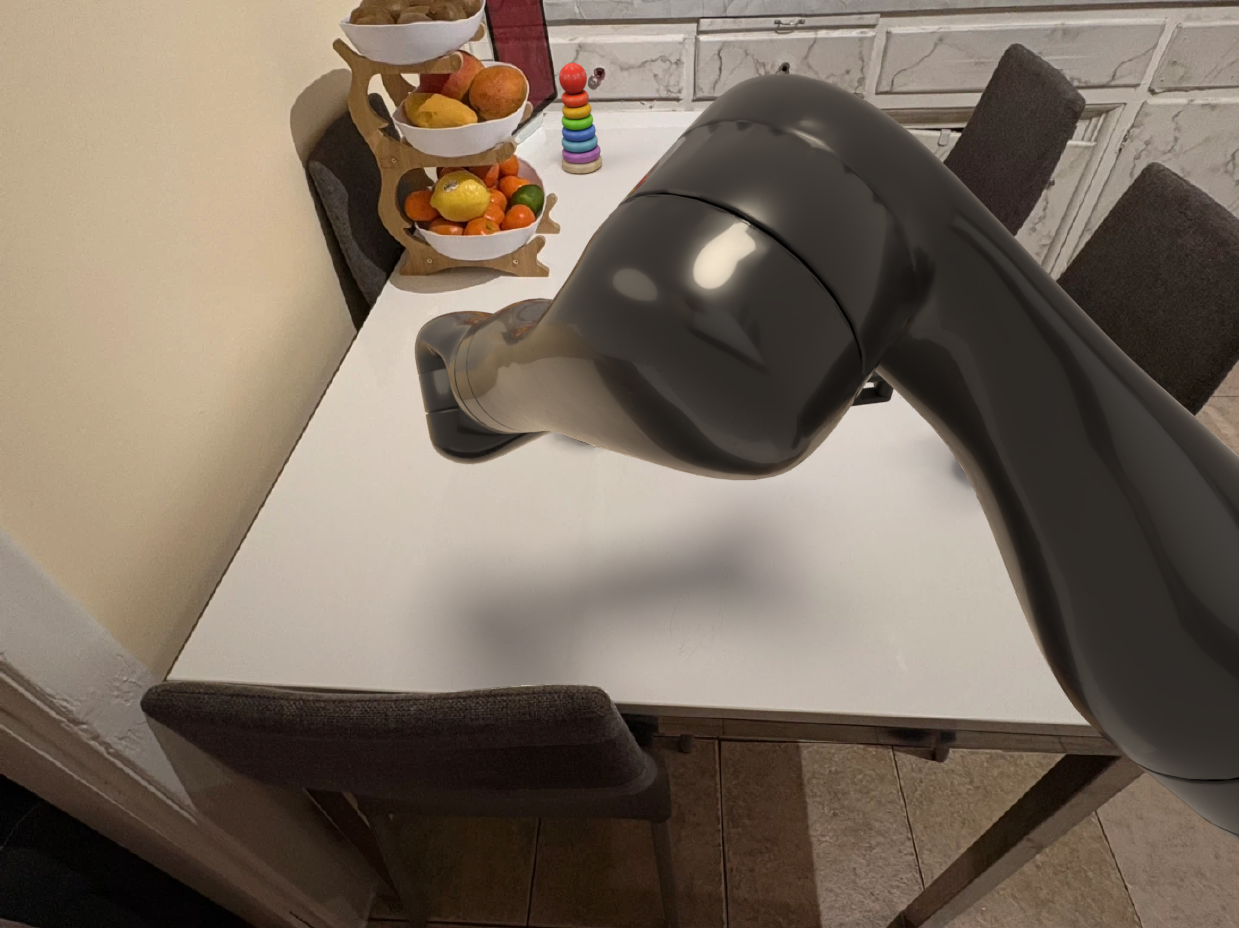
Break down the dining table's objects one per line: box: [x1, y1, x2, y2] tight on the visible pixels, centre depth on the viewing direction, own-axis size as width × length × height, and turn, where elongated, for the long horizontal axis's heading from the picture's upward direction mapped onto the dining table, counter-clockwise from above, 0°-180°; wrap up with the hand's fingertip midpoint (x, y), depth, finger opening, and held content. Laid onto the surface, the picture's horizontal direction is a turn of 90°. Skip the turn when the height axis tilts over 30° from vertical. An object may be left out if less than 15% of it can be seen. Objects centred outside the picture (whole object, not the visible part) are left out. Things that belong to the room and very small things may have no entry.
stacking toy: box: [558, 62, 603, 174], centre depth 136 cm, size 8×8×19 cm
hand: (910, 319), depth 54 cm, fingers open, 8 cm apart
